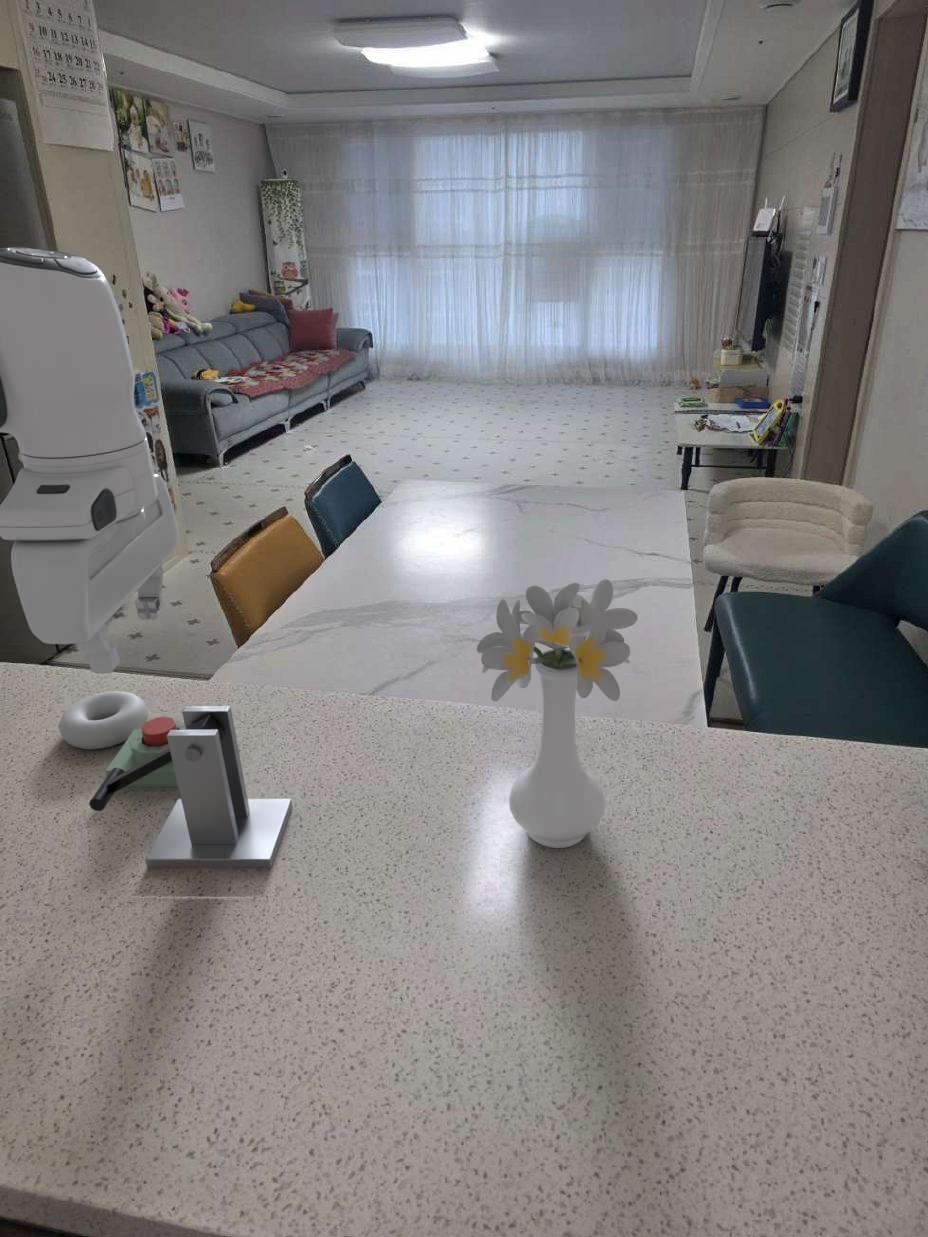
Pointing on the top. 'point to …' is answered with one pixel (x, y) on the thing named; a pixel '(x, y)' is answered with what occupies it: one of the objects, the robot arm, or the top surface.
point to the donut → (103, 719)
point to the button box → (140, 752)
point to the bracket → (215, 804)
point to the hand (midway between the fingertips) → (130, 641)
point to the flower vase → (558, 700)
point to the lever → (143, 768)
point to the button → (158, 731)
